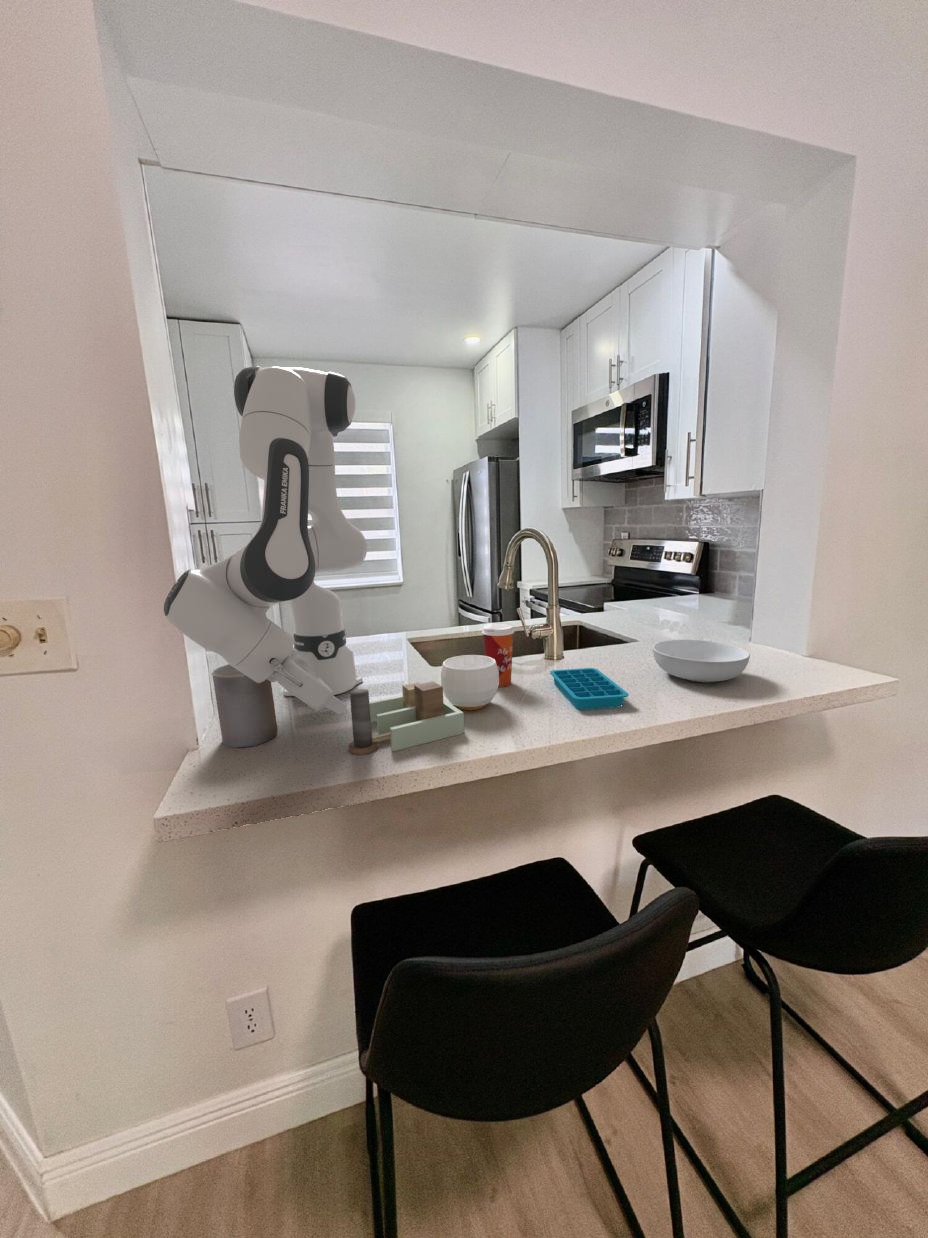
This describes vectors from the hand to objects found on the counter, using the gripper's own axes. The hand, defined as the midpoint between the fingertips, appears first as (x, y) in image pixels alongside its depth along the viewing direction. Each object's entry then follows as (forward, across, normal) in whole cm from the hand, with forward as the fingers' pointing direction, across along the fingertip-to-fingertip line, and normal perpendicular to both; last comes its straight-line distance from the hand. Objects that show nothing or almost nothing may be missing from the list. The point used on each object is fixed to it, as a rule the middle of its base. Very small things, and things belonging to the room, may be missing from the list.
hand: (335, 701), depth 84 cm
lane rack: (+17, +4, -4) cm, 18 cm away
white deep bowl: (+28, +8, -14) cm, 33 cm away
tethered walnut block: (+14, 0, -1) cm, 14 cm away
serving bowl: (+67, -6, -53) cm, 86 cm away
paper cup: (+37, +17, -24) cm, 47 cm away
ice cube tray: (+46, 0, -32) cm, 56 cm away
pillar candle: (-2, +17, +16) cm, 23 cm away
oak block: (+19, +7, -5) cm, 21 cm away
